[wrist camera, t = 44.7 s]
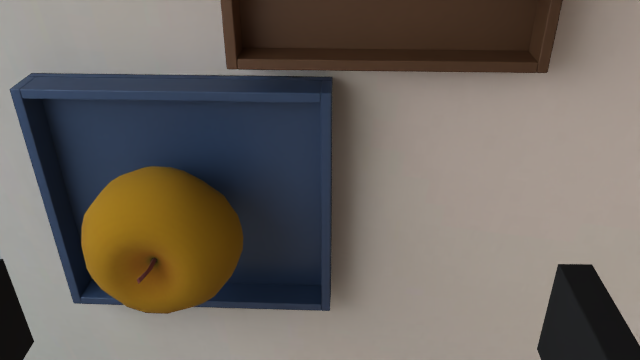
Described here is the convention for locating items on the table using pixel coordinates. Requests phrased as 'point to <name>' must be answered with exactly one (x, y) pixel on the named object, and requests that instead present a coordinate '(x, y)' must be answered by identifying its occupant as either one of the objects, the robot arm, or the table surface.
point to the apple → (161, 240)
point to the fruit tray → (194, 167)
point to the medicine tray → (390, 35)
